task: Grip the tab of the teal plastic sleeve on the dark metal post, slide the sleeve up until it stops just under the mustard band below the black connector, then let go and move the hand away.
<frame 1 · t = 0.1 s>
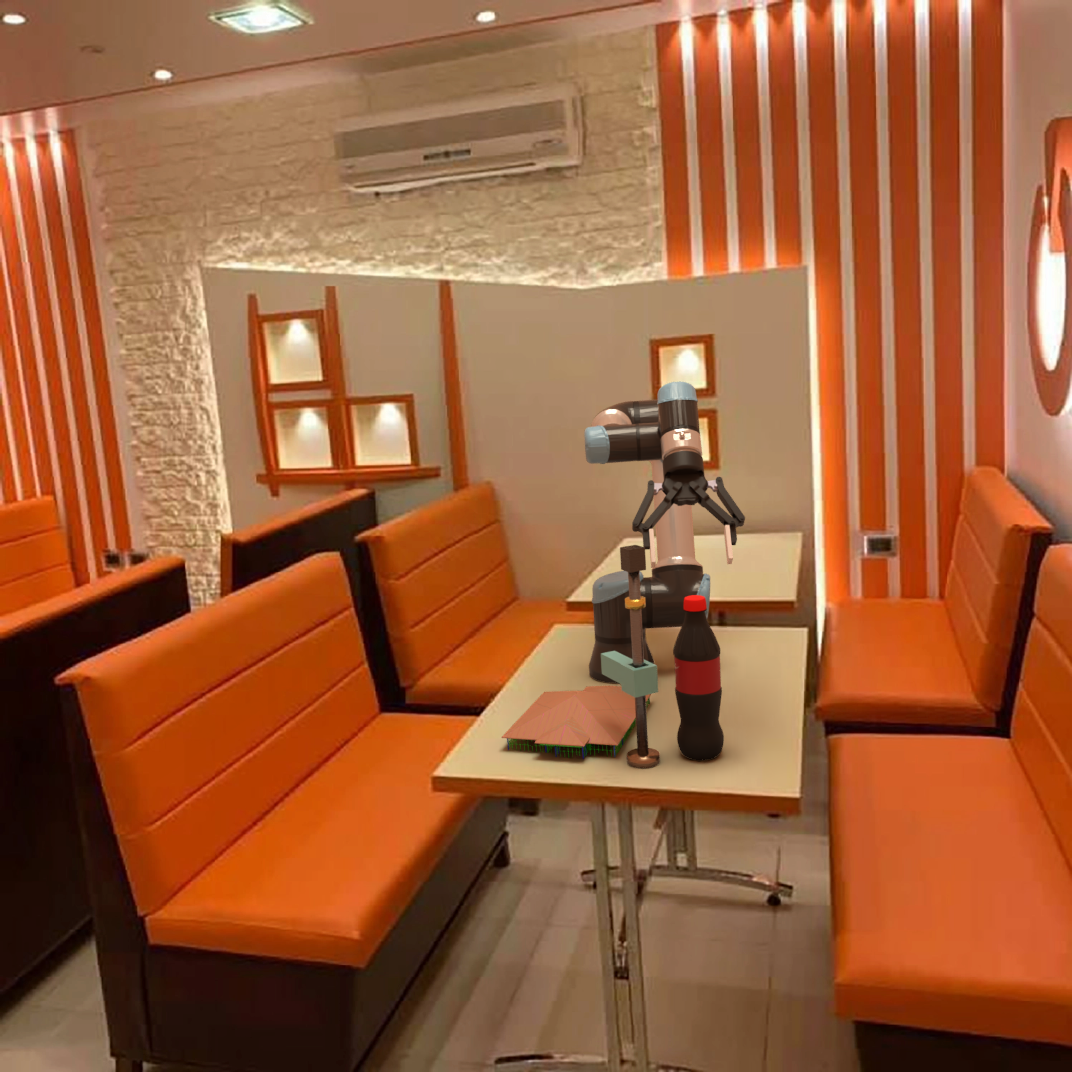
hand: (691, 563, 186), 36 cm above the table, tool tilted 35°, fingers open, 13 cm apart
cola bottle: (701, 755, 192), on the table
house: (580, 731, 209), on the table
post stand: (643, 761, 191), on the table
sleeve: (626, 671, 192), point 16 cm above the table, slide at 0.0 cm
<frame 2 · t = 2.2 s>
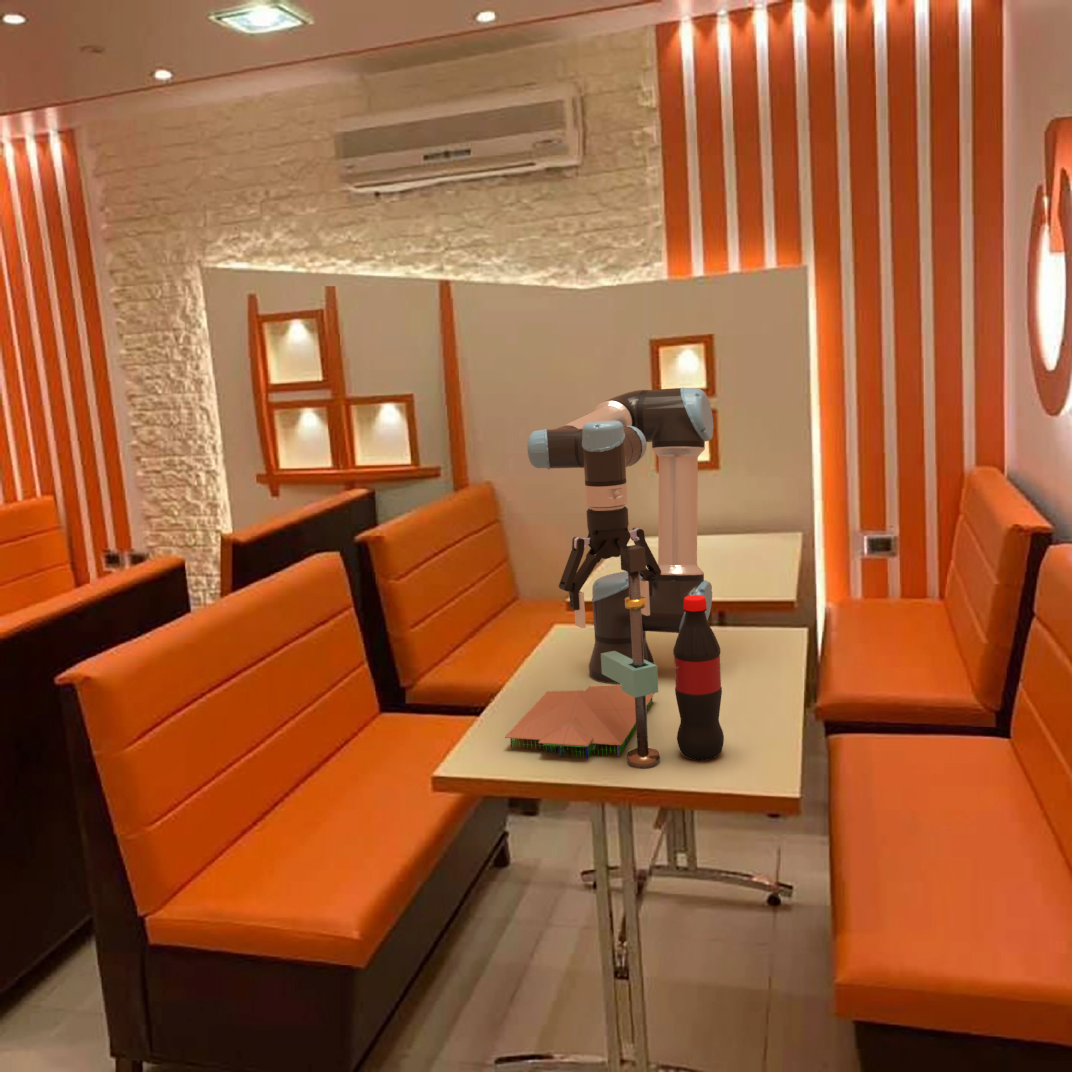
hand: (613, 620, 193), 25 cm above the table, tool pointing down, fingers open, 13 cm apart
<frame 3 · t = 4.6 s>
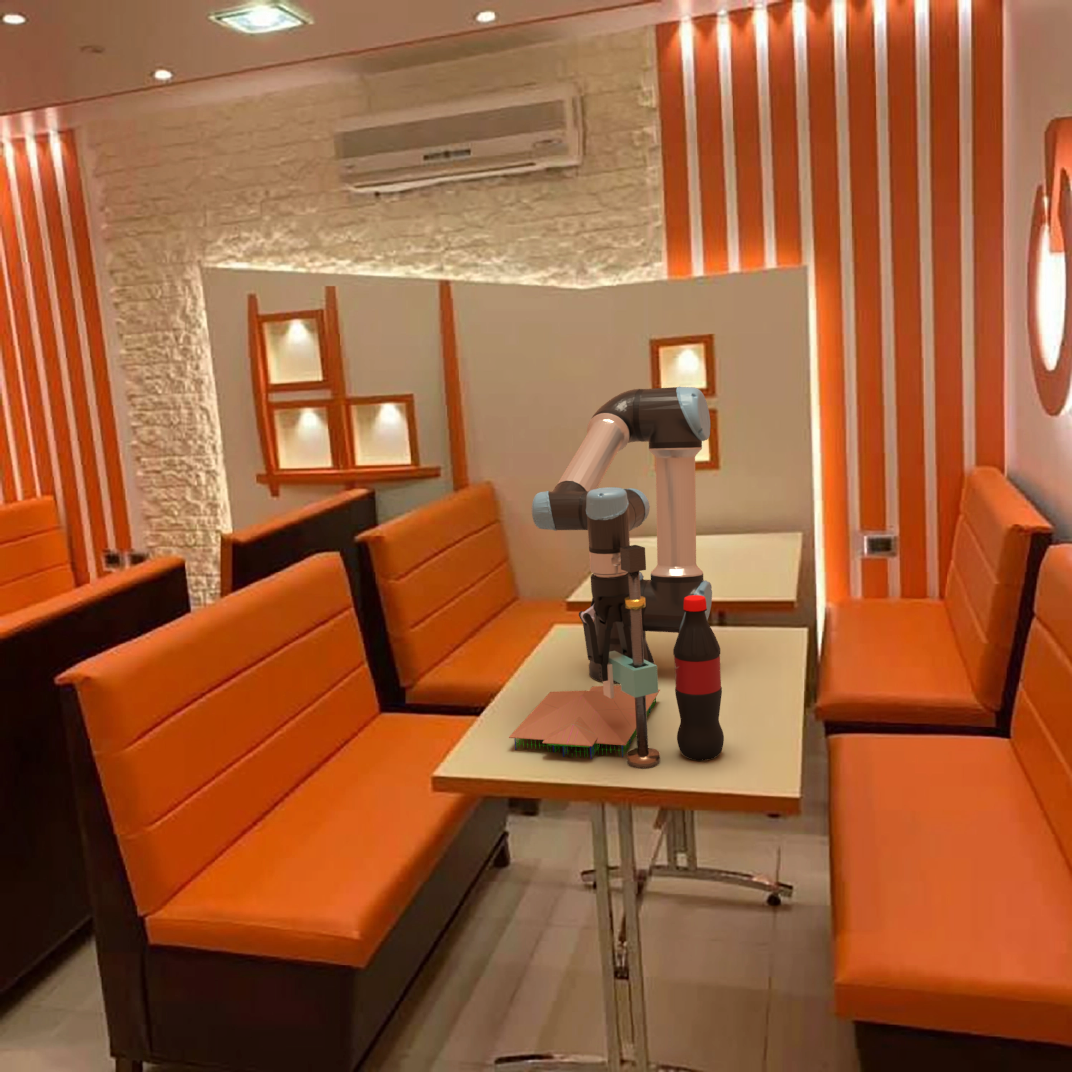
hand: (617, 694, 196), 11 cm above the table, tool pointing down, fingers closed on sleeve, 3 cm apart
sleeve: (626, 671, 192), point 16 cm above the table, slide at 0.0 cm, touching gripper
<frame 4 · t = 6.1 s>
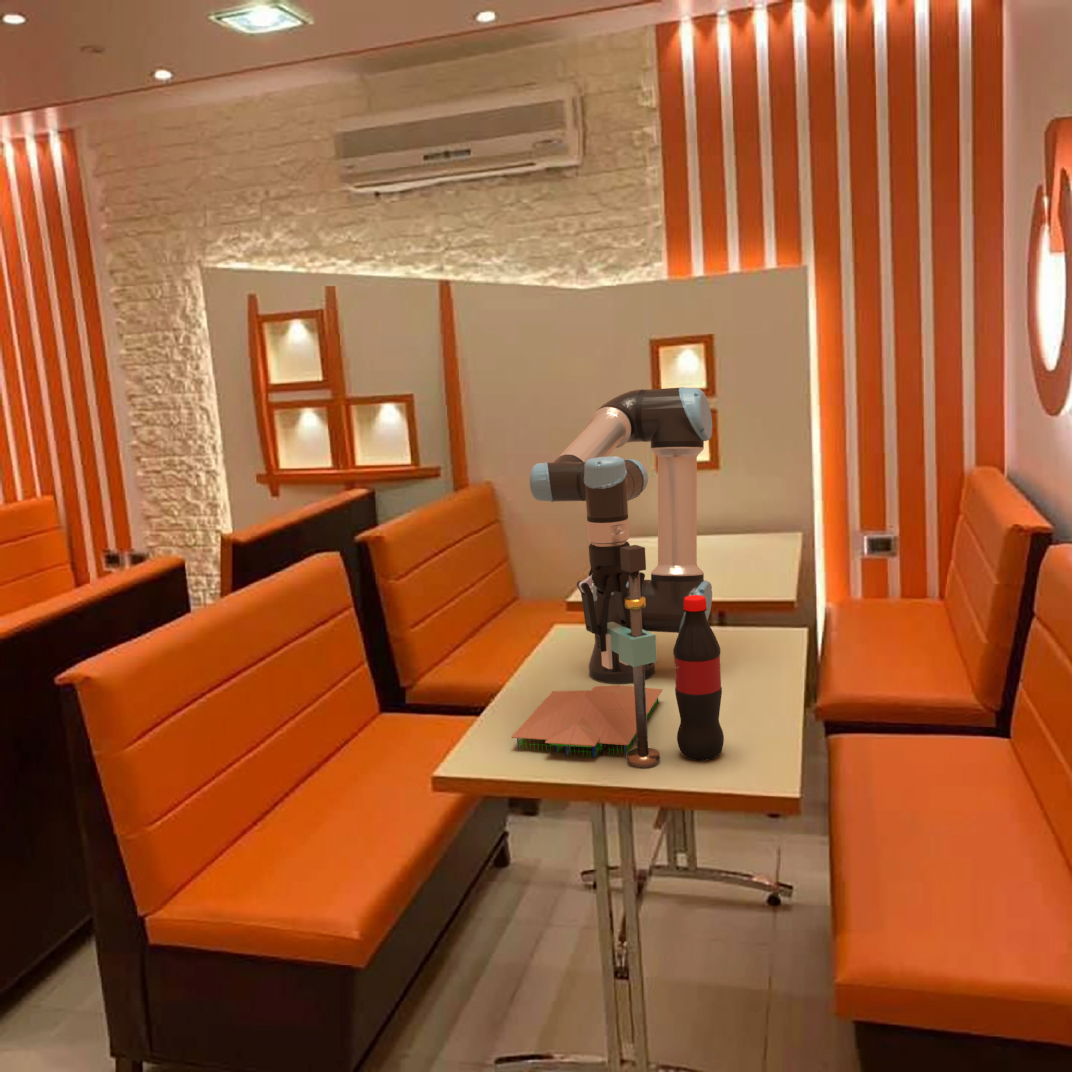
hand: (615, 664, 195), 16 cm above the table, tool pointing down, fingers closed on sleeve, 3 cm apart
sleeve: (624, 641, 191), point 22 cm above the table, slide at 5.7 cm, touching gripper
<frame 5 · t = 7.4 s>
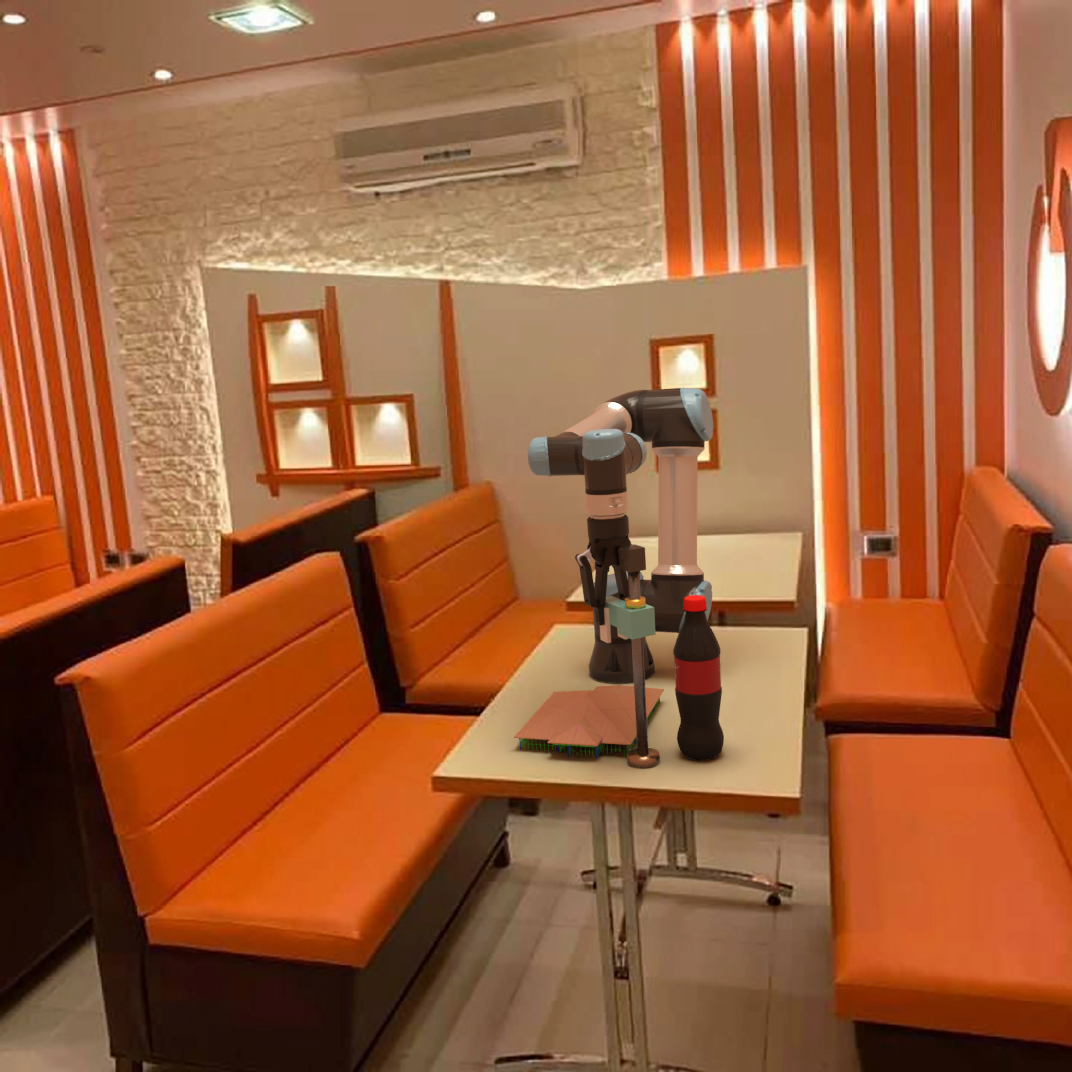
hand: (614, 639, 194), 21 cm above the table, tool pointing down, fingers closed on sleeve, 3 cm apart
sleeve: (623, 615, 190), point 27 cm above the table, slide at 10.7 cm, touching gripper
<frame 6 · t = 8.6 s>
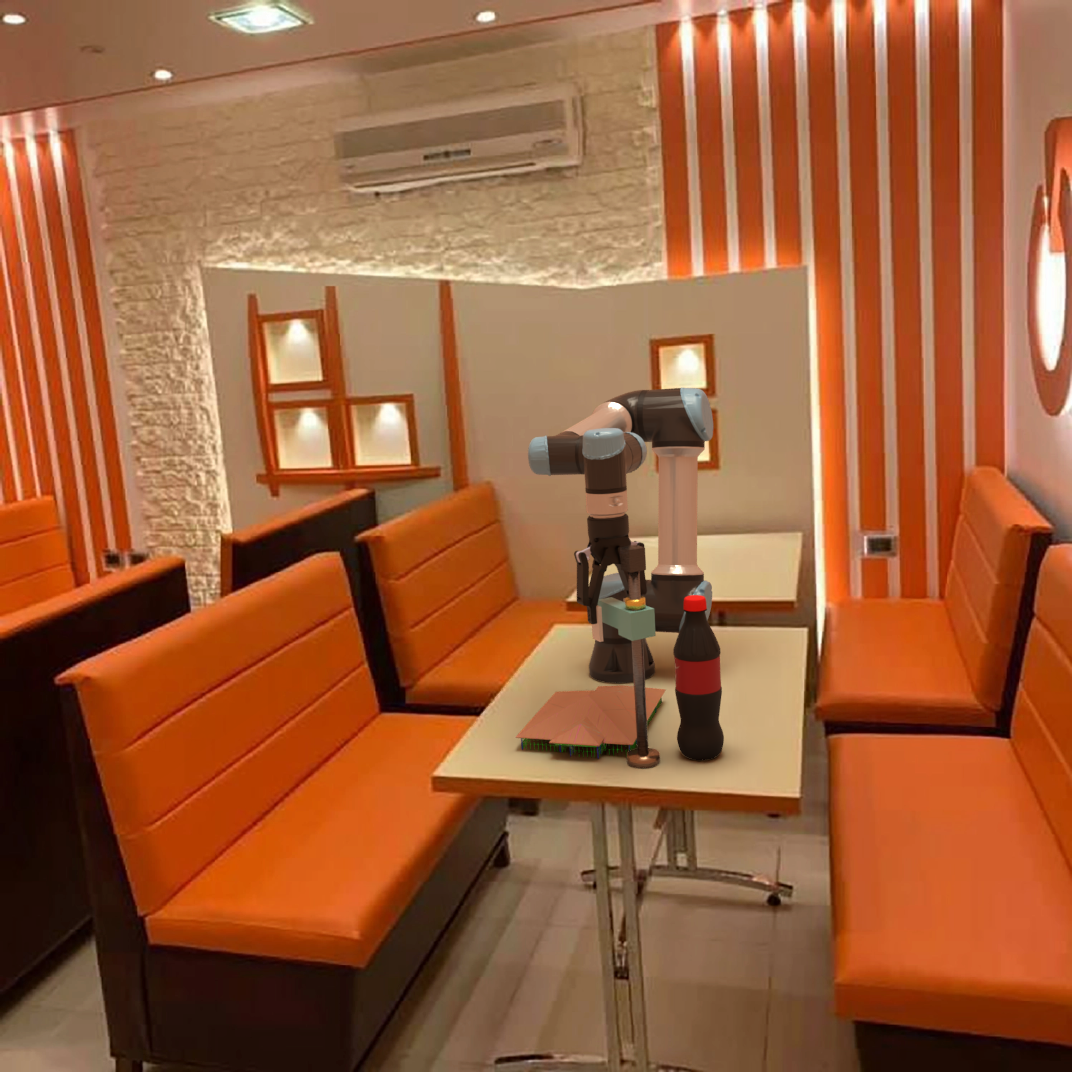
hand: (614, 636, 194), 22 cm above the table, tool pointing down, fingers open, 6 cm apart
sleeve: (623, 616, 190), point 26 cm above the table, slide at 10.5 cm
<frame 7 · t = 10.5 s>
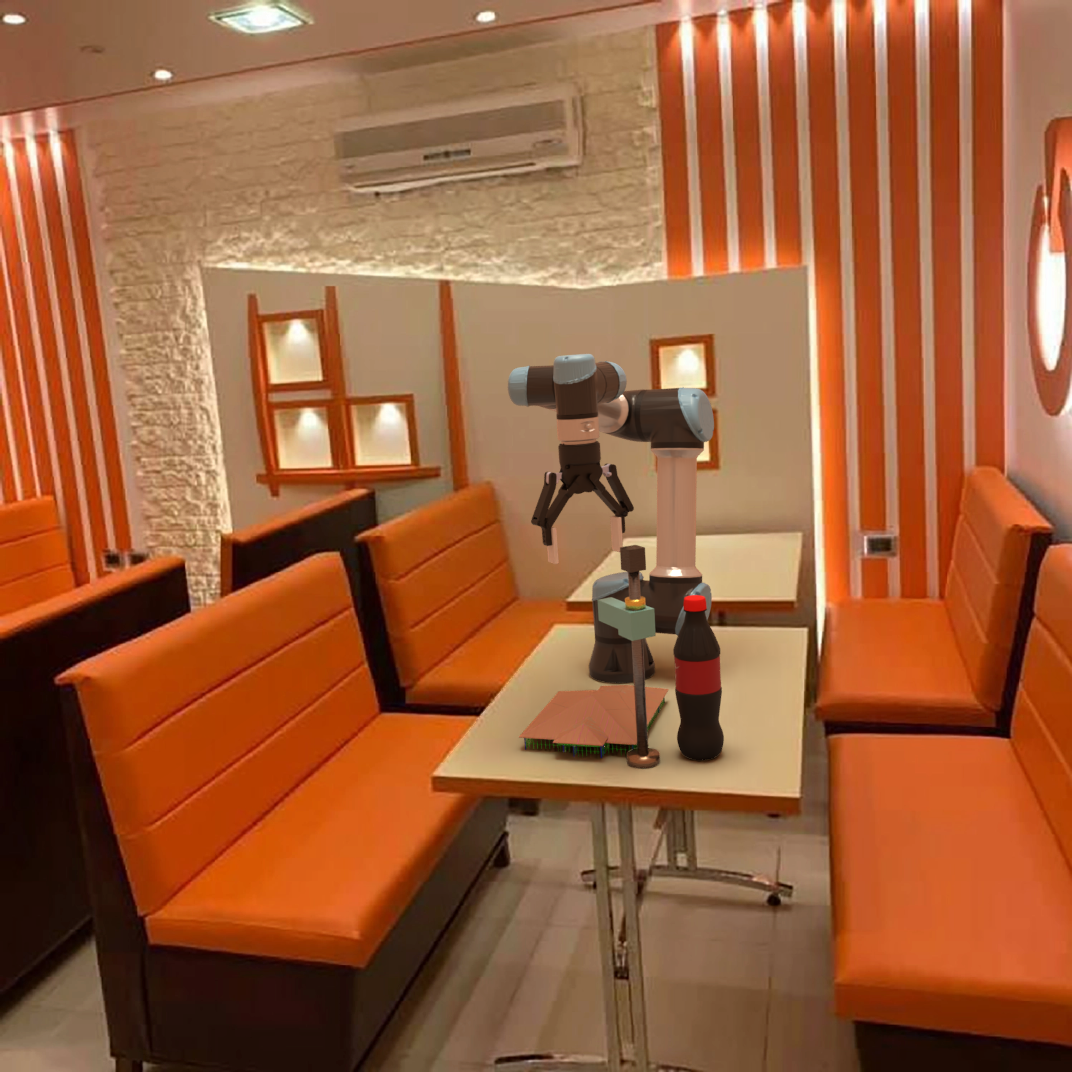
hand: (585, 557, 192), 37 cm above the table, tool pointing down, fingers open, 13 cm apart
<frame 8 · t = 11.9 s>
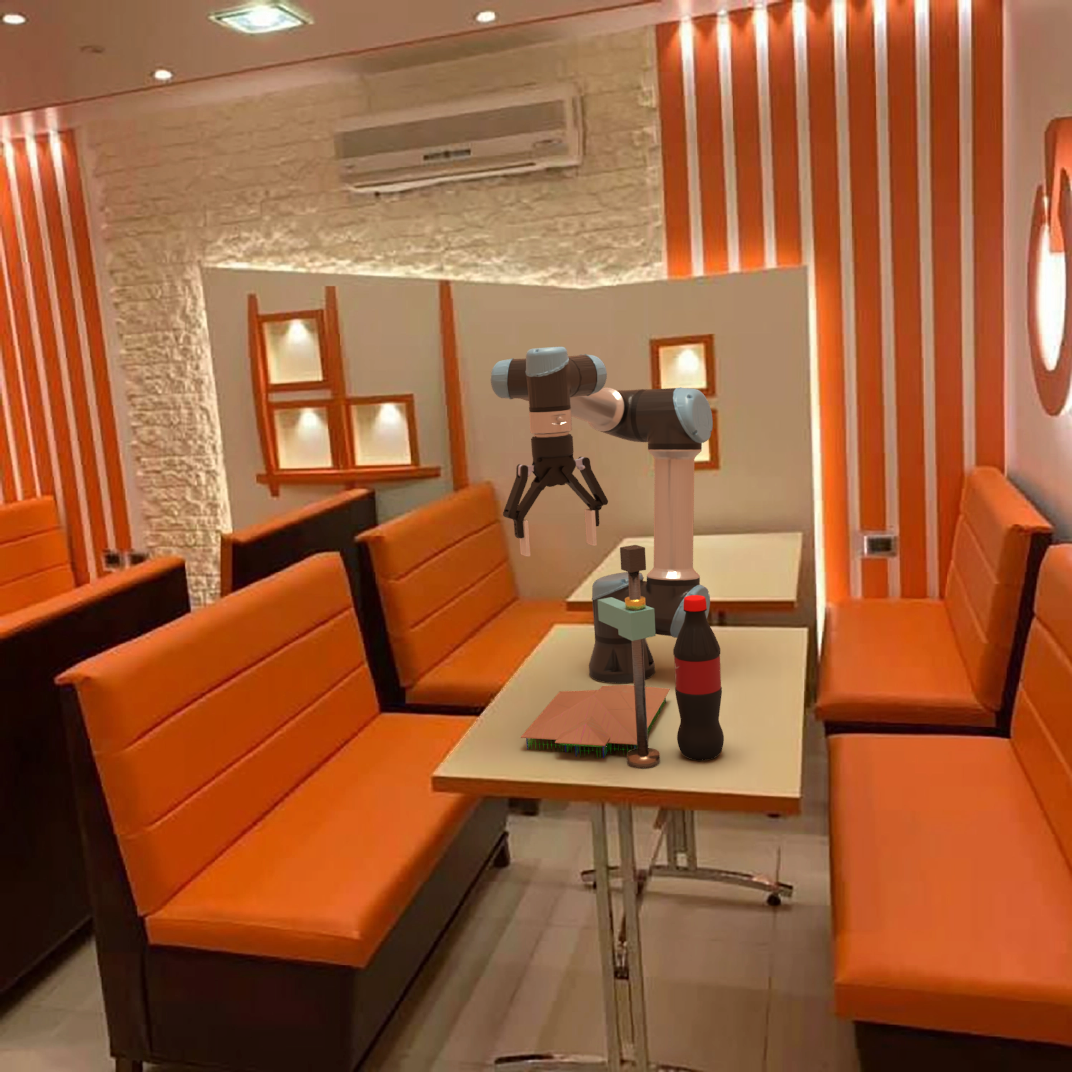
hand: (559, 549, 192), 39 cm above the table, tool pointing down, fingers open, 13 cm apart
at the end: sleeve slide at 10.5 cm; the gripper is holding nothing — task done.
